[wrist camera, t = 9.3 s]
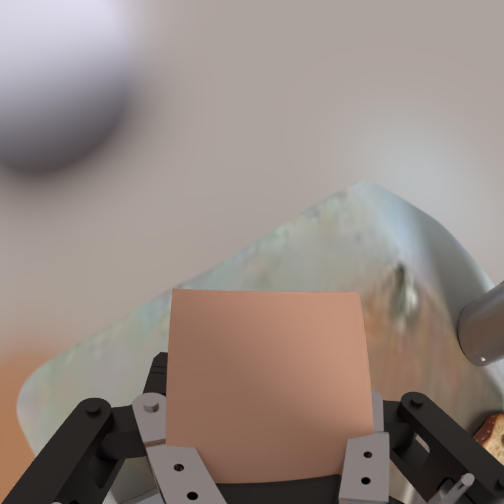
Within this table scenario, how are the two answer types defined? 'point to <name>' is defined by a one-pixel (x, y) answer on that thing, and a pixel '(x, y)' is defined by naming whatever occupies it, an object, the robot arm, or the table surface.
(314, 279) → the table surface
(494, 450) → the slice of bread
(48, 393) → the table surface
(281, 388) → the salmon pink block
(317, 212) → the table surface
